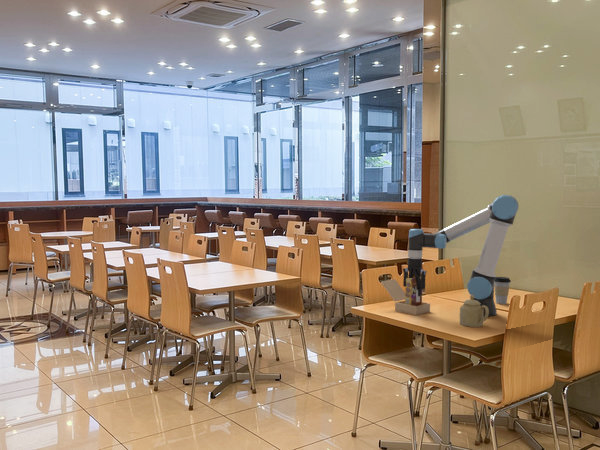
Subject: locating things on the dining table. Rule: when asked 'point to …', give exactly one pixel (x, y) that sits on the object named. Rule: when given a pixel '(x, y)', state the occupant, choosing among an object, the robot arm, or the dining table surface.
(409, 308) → the box
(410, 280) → the candy box
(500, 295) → the coffee cup
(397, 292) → the lid
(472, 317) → the grey round pot
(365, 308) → the dining table surface
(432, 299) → the dining table surface
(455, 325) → the dining table surface
